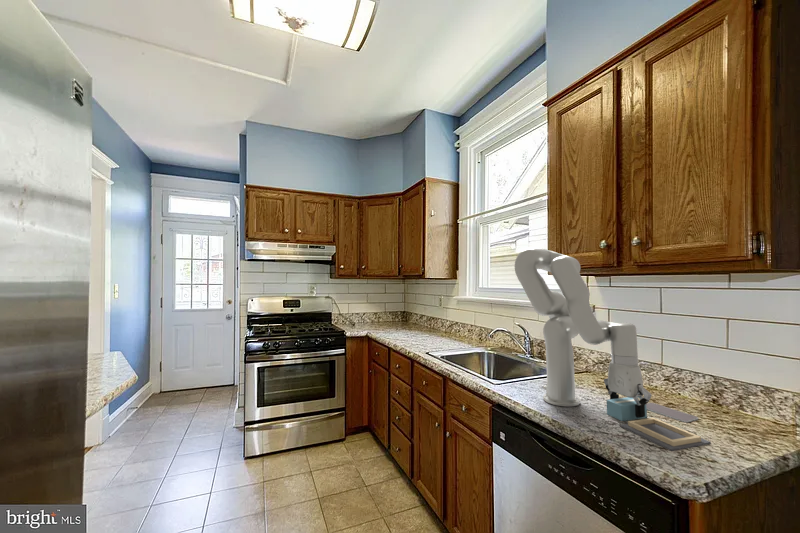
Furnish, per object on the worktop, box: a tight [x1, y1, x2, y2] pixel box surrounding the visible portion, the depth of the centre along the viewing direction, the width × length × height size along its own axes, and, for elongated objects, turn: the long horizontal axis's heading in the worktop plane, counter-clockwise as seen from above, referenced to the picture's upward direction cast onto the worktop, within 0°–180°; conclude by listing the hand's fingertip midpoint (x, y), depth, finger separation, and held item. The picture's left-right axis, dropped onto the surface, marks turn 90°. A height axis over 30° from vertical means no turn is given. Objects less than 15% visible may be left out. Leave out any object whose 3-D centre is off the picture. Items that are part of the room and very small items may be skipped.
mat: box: [619, 417, 712, 452], centre depth 102 cm, size 16×14×2 cm
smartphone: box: [646, 402, 699, 424], centre depth 118 cm, size 7×1×15 cm
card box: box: [605, 396, 648, 422], centre depth 116 cm, size 10×6×5 cm, turn 103°
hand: (627, 411), depth 116 cm, fingers open, 9 cm apart
